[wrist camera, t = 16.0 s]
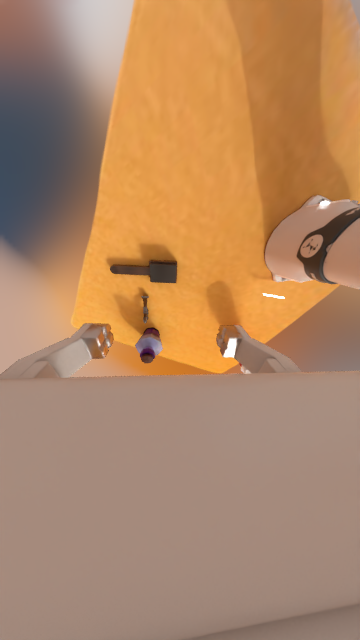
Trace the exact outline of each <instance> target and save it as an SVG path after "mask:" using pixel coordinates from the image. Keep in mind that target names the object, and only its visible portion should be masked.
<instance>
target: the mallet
mask: <svg viewBox="0 0 360 640" xmlns="http://www.w3.org/2000/svg"><path fill="white" fill-rule="evenodd" d="M110 270H111V272H112V273H114V274H130V275H150V282H160V283H176V279H177V261H161V260H150V261H149V266H131V265H113V266H111V267H110Z"/></svg>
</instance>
